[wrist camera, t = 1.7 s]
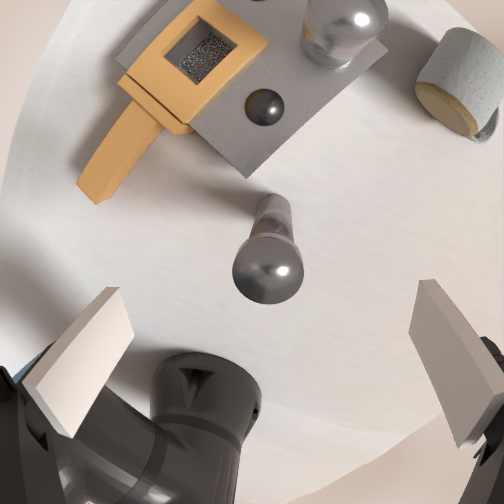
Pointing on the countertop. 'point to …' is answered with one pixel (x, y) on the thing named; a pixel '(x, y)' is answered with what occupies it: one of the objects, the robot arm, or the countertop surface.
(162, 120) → the bracket
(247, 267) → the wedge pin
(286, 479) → the countertop surface
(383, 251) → the countertop surface
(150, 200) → the countertop surface
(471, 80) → the ceramic mug
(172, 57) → the grey latch block
